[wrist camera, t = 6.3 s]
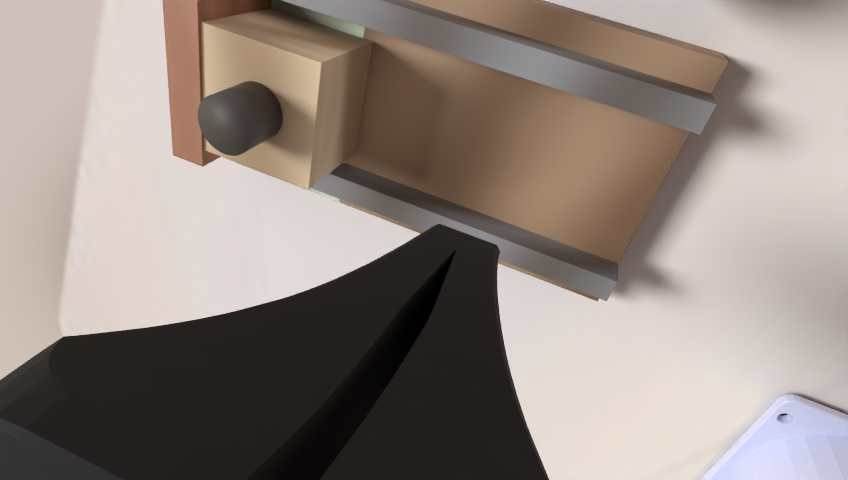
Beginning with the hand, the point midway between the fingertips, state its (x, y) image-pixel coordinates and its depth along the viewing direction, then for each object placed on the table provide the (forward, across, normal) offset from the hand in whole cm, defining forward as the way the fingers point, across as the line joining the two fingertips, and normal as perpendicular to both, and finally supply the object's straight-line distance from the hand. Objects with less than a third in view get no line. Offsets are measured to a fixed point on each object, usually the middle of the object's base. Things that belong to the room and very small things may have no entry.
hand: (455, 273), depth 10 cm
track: (+10, +3, 0) cm, 10 cm away
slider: (+8, +8, +1) cm, 12 cm away
